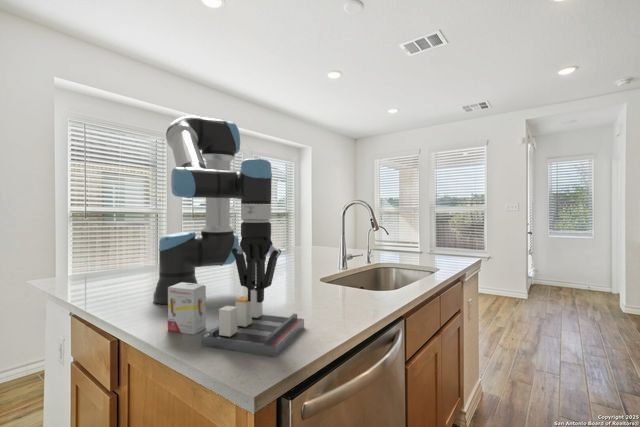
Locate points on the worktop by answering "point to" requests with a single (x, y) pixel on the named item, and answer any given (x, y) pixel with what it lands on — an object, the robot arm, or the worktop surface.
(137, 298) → the worktop surface
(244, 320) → the block
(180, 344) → the worktop surface
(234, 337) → the panel
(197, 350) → the worktop surface
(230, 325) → the block
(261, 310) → the block
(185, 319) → the ink box
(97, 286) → the worktop surface
